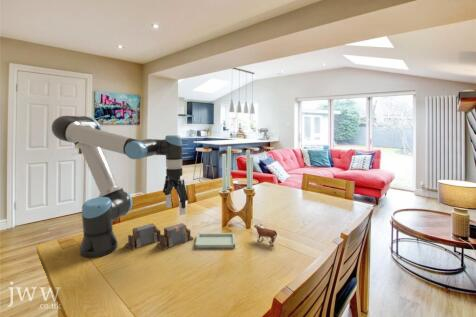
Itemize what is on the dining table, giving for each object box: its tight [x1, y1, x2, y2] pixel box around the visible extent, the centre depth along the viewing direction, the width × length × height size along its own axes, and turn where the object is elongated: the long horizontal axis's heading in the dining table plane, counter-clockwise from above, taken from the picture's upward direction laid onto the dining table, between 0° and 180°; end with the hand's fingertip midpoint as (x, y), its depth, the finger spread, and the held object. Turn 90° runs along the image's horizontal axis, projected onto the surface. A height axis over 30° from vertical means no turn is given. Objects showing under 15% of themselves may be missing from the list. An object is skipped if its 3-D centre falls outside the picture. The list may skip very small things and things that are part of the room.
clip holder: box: [156, 227, 194, 251], centre depth 123 cm, size 16×6×5 cm, turn 133°
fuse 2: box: [163, 222, 187, 248], centre depth 123 cm, size 10×4×8 cm, turn 133°
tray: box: [194, 232, 236, 250], centre depth 124 cm, size 19×13×2 cm
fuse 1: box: [132, 222, 157, 248], centre depth 122 cm, size 10×4×8 cm, turn 133°
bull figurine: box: [253, 222, 278, 246], centre depth 125 cm, size 4×13×8 cm, turn 51°
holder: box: [124, 227, 161, 251], centre depth 122 cm, size 16×6×5 cm, turn 133°
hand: (175, 210), depth 122 cm, fingers open, 13 cm apart
